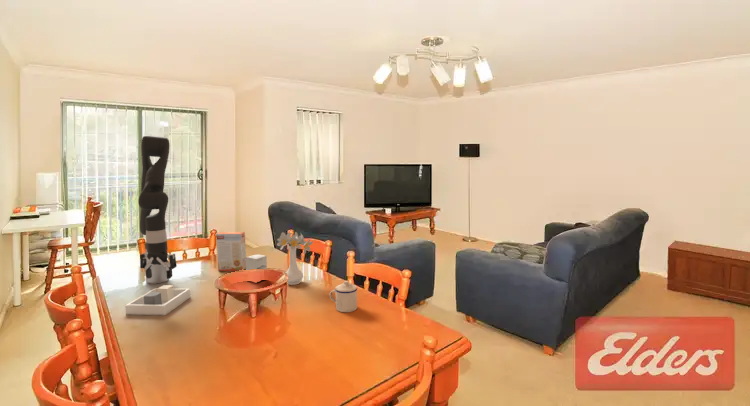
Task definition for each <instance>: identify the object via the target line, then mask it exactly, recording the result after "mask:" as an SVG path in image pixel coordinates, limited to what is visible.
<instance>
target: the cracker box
mask: <svg viewBox="0 0 750 406" xmlns="http://www.w3.org/2000/svg"><path fill="white" fill-rule="evenodd" d="M215 236H216V253H217V254H216V255H217V268H218V269H217V270H218V272H238V271H237V270H242V269H245V270H246V257H247V251H246V249H247V248H246V246H247V245H246V233H245V231H220V232H218V233H215Z"/></svg>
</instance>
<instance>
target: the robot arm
mask: <svg viewBox="0 0 750 406" xmlns="http://www.w3.org/2000/svg"><path fill="white" fill-rule="evenodd" d="M140 145H141V148H140V149H141V150H140V151H141V152H140V153H141V167H142V168H141V185H140V187H141V190H140V194H139V197H138V206H139V208H141V209H140V217H139V218H140V219H139V230H140V233H141V235H143V236H145V245H144V249H145V252H144V253H141V254H140V255H139V265H140V266H139V268H140V269H143V270H144V273H145V283H148V284H160V283H161V284H162V283H165V282H167V281H169V280H170V279H171V278H172V277H173V270H174V269H175V268H177V259H176V253H172V254H169V253H168V240H167V238H168V237H167V231H166V230H167V229H166V228H167V227H166V213H167V212H166V211H167V207H168V204H169V196H168V194H167V193H165V192H164V190H165V189H164V188H165V178H166V177H165V176H166V169H167V166H168V161H169V155H170V146H171V145H170V140H169V138H167V137H165V136H156V135H147V134H146V135H143V136H142V138H141V143H140ZM151 157H155V158H158V159H157V160H156V162H155V163H152V160H151ZM153 210H158V212H157V213H154V214H151V213H152V211H153Z"/></svg>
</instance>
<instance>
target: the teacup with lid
mask: <svg viewBox="0 0 750 406" xmlns="http://www.w3.org/2000/svg"><path fill="white" fill-rule="evenodd" d="M332 293H335V298H334V297H333V295H332ZM328 296H329V298H330V300H331V301H332V302H334V303H335V310H337V311H338V312H340V313H352V312H354V311H356V310H357V309H358V300H357V299H358V286H357V285H356V284H353V283H351V282H349V280H344V281H343V283H341V284H338V285H336V286H335V288H334V289H332V290H331V291H330V292H329V295H328Z"/></svg>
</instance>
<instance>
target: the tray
mask: <svg viewBox="0 0 750 406" xmlns="http://www.w3.org/2000/svg"><path fill="white" fill-rule="evenodd" d="M173 291H174V298H173V299H171V300H170V301H168V302H162V305H144V296H145V295H147V294H148V293H150V292H157V287H154V288H153V289H151V290H150V291H147V292H146V293H144V294H142V295H141V296H138V297H137V298H136V299H134V300H131V301H130V302H128V303H127V304H125V306H124V308H125V309H124V310H125V315H126V316H166V315H168V314H169V313H170V312H172V311H173V310H174V309H176V308H177V307H179V306H180V305H182V304H184V302H186V301H187V300H188V299H191V288H174V287H173Z"/></svg>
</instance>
